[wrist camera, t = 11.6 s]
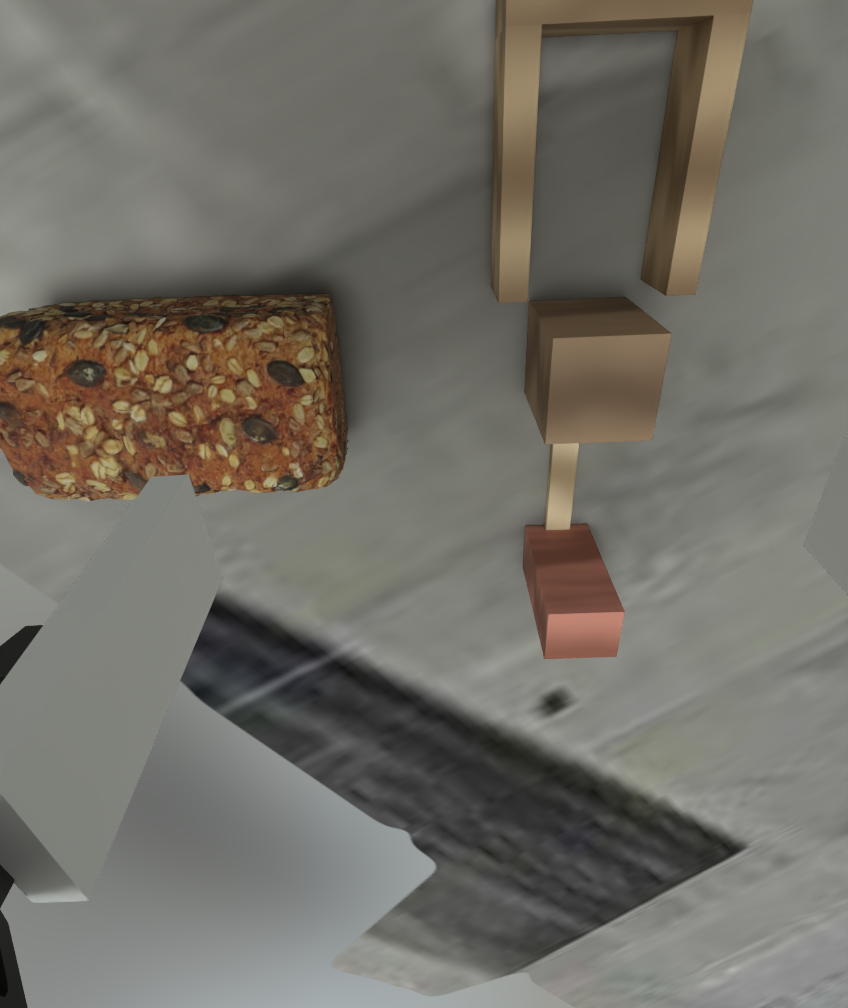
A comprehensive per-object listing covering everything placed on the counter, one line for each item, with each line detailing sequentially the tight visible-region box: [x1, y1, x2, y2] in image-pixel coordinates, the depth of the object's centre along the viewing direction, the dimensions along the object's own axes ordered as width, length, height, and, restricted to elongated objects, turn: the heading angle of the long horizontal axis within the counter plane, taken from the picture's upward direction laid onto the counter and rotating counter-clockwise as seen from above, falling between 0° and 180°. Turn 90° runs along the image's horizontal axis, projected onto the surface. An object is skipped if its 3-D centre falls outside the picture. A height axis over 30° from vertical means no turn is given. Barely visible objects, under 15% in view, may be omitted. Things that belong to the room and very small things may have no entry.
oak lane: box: [491, 0, 753, 303], centre depth 31 cm, size 14×11×4 cm
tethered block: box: [523, 297, 672, 659], centre depth 38 cm, size 21×6×10 cm, turn 2°
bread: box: [0, 294, 348, 501], centre depth 35 cm, size 19×11×10 cm, turn 91°
